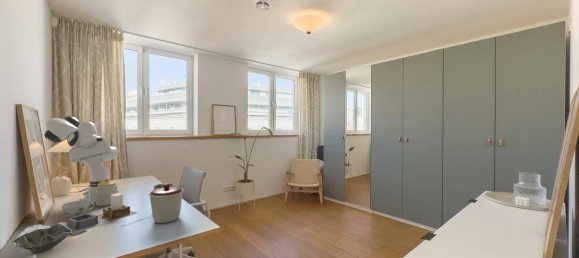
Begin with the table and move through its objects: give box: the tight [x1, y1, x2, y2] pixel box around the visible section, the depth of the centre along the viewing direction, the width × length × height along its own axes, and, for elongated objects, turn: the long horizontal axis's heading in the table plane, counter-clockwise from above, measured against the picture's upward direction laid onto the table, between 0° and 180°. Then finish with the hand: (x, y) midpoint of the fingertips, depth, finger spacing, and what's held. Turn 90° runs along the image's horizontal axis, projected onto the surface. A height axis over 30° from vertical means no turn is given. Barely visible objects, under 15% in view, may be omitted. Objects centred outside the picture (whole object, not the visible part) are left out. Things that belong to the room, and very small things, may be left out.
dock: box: [63, 212, 108, 236], centre depth 129 cm, size 18×15×5 cm
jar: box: [95, 178, 119, 207], centre depth 168 cm, size 13×13×18 cm
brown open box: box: [96, 204, 139, 222], centre depth 145 cm, size 18×15×5 cm
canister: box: [148, 183, 185, 224], centre depth 138 cm, size 18×18×21 cm
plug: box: [110, 192, 124, 210], centre depth 144 cm, size 5×4×12 cm
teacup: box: [61, 199, 95, 218], centre depth 145 cm, size 15×12×8 cm
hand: (92, 163), depth 144 cm, fingers open, 8 cm apart
